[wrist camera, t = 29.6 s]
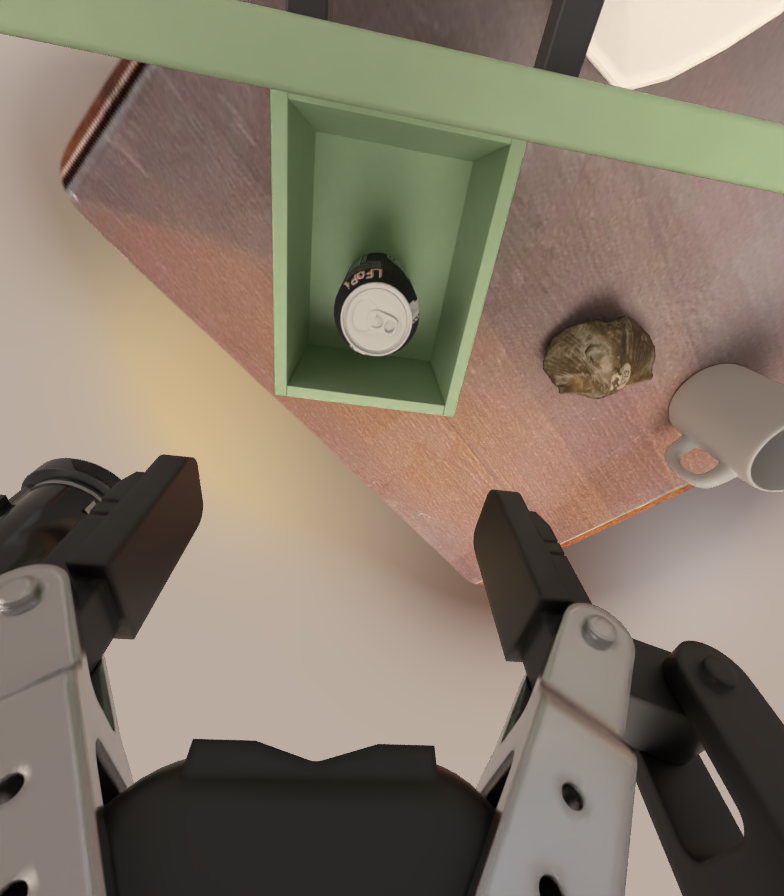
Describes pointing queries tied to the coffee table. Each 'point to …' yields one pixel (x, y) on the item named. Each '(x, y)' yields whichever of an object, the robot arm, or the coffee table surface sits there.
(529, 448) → the coffee table surface
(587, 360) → the fossilized seashell
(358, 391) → the chest
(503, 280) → the coffee table surface
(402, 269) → the beverage can
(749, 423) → the mug
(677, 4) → the bowl
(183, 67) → the lid
